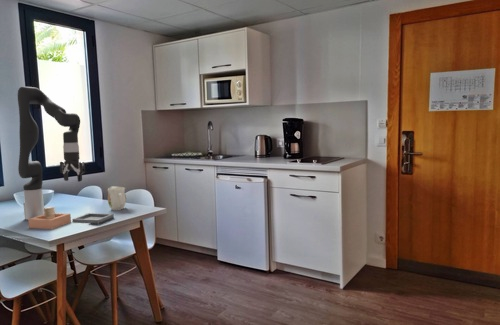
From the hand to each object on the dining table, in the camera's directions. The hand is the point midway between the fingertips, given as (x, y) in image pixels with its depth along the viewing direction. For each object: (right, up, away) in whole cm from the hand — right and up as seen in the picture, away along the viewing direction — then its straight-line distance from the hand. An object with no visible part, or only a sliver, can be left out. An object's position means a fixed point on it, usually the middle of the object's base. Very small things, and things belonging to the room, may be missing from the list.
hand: (73, 181), depth 202 cm
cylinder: (-11, -23, -3) cm, 26 cm away
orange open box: (-11, -24, -3) cm, 26 cm away
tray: (+8, -23, +7) cm, 25 cm away
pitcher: (+12, -20, +35) cm, 42 cm away
